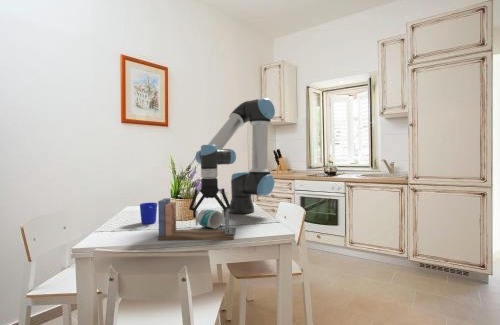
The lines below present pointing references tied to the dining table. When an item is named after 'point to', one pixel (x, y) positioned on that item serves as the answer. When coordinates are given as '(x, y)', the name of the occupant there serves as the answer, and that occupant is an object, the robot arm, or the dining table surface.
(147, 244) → the dining table surface
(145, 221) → the mug
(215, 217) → the mug
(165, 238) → the shelf
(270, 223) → the dining table surface
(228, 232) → the bookend
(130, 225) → the dining table surface
